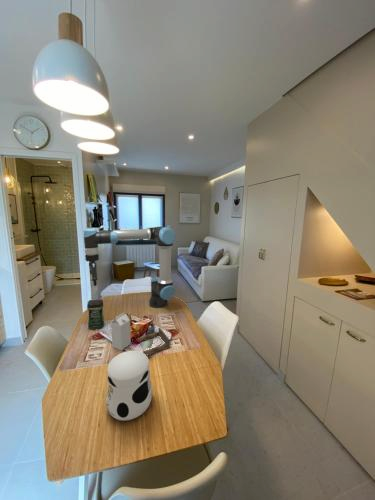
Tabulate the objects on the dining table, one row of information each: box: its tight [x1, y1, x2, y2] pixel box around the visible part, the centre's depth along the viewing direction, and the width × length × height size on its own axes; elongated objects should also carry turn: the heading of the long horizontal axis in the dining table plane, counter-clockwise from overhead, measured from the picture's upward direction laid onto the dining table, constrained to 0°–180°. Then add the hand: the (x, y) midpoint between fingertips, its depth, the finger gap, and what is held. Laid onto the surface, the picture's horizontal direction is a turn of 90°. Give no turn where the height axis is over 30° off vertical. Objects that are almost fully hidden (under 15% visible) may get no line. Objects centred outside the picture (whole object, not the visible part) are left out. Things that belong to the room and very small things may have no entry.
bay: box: [137, 327, 171, 356], centre depth 116 cm, size 15×14×5 cm
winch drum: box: [147, 321, 156, 335], centre depth 128 cm, size 4×5×8 cm
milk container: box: [105, 350, 153, 422], centre depth 79 cm, size 17×17×18 cm
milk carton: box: [110, 311, 132, 352], centre depth 114 cm, size 7×7×19 cm
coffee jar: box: [86, 299, 105, 330], centre depth 133 cm, size 10×8×19 cm
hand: (94, 286), depth 129 cm, fingers open, 13 cm apart
